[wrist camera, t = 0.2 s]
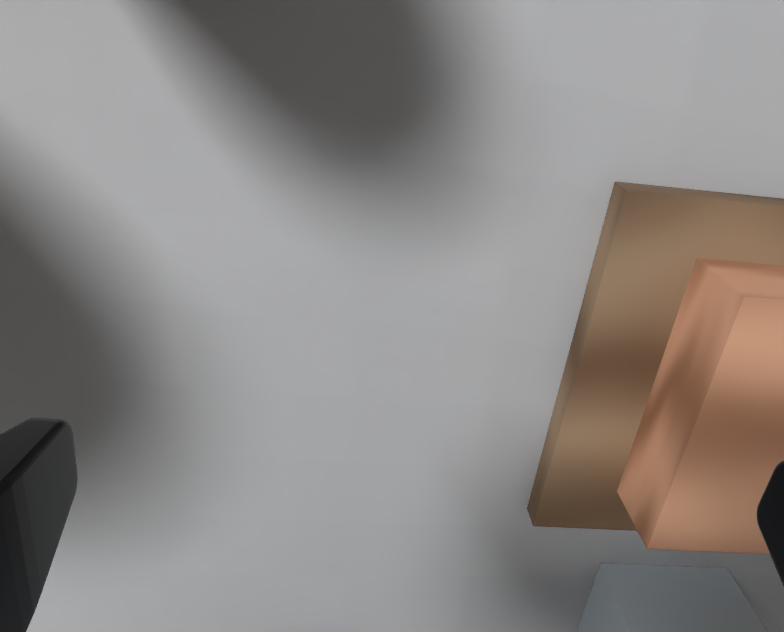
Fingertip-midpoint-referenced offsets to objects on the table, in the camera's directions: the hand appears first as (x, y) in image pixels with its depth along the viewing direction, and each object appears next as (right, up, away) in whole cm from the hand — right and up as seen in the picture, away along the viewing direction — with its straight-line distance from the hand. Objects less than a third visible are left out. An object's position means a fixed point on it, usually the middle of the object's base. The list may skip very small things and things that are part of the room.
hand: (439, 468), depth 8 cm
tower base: (+13, 0, +17) cm, 21 cm away
